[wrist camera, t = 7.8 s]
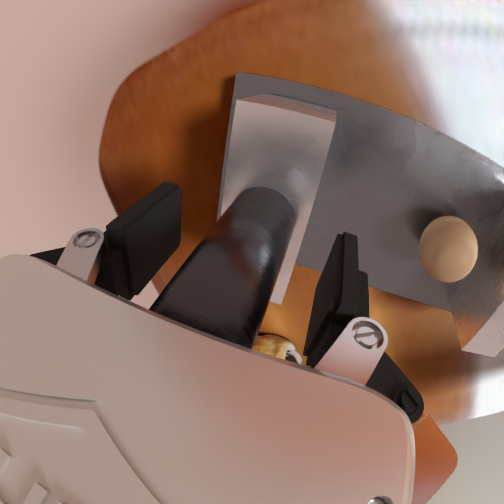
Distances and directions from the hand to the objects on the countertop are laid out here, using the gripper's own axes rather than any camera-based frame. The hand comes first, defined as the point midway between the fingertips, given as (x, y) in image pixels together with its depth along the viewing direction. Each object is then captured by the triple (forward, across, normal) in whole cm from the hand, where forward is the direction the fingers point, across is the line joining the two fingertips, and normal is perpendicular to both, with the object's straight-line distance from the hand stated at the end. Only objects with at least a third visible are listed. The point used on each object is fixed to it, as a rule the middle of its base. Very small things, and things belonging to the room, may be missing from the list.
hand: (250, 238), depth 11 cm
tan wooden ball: (+5, -11, 0) cm, 12 cm away
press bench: (+9, -8, 0) cm, 12 cm away
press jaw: (+7, 0, 0) cm, 7 cm away
